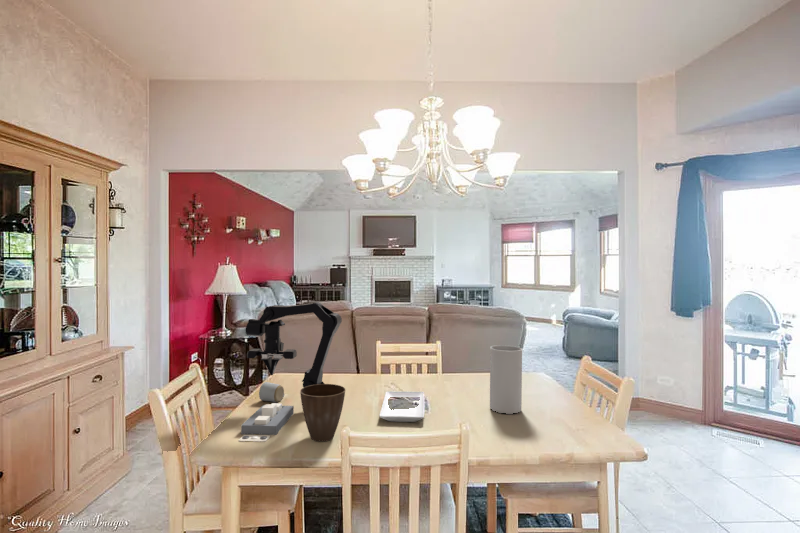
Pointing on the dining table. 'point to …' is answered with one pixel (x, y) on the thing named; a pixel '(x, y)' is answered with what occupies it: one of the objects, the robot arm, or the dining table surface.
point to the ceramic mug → (271, 392)
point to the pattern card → (255, 438)
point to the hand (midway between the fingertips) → (271, 375)
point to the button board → (272, 426)
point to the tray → (403, 414)
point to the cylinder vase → (505, 379)
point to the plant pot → (322, 409)
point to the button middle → (269, 410)
